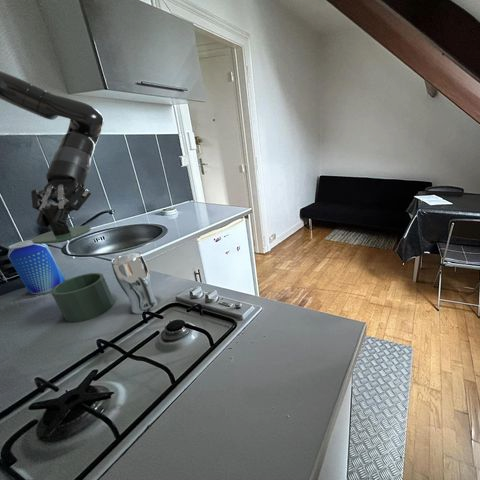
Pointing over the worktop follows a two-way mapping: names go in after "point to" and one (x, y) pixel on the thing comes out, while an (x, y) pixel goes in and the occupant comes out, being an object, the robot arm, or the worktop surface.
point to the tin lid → (58, 229)
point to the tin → (83, 297)
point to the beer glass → (135, 281)
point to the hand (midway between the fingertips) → (50, 224)
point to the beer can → (35, 266)
